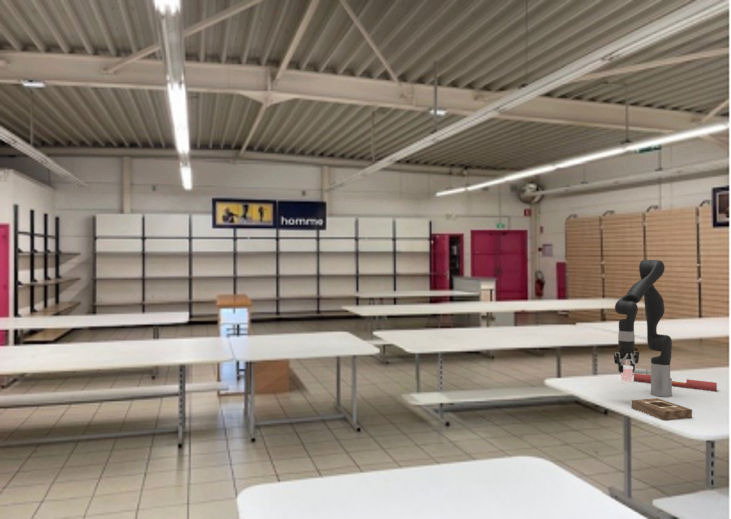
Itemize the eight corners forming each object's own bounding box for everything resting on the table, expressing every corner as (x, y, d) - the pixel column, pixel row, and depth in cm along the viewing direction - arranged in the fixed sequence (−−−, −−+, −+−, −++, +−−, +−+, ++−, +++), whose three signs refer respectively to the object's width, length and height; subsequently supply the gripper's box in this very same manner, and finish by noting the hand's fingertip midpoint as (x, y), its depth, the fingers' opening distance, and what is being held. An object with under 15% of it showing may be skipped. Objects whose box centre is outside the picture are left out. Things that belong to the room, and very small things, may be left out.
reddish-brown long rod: (716, 390, 291) (716, 381, 291) (716, 392, 287) (716, 383, 287) (634, 380, 315) (634, 372, 315) (633, 382, 311) (633, 374, 311)
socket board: (657, 406, 258) (657, 397, 258) (692, 418, 238) (692, 409, 238) (631, 408, 254) (631, 399, 254) (663, 420, 234) (663, 411, 235)
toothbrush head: (622, 365, 341) (657, 367, 318) (624, 375, 340) (659, 378, 317) (617, 366, 338) (652, 368, 316) (618, 376, 337) (653, 379, 315)
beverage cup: (636, 384, 261) (636, 357, 261) (626, 385, 259) (626, 358, 259) (626, 381, 267) (626, 355, 267) (617, 382, 265) (617, 355, 265)
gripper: (632, 337, 268) (632, 369, 268) (609, 339, 265) (609, 371, 265) (643, 340, 261) (643, 372, 261) (619, 341, 257) (620, 374, 257)
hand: (626, 371), depth 263 cm, fingers closed on beverage cup, 6 cm apart
